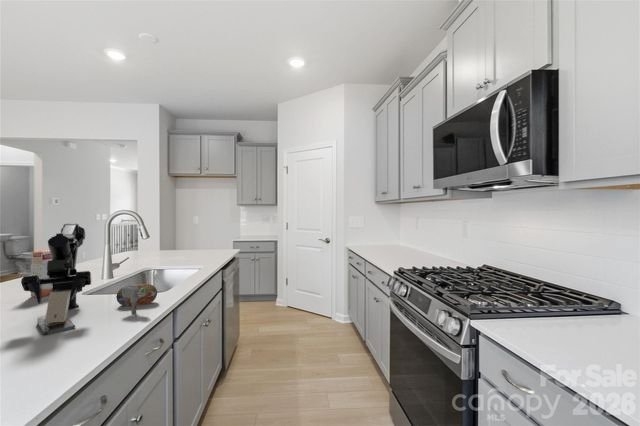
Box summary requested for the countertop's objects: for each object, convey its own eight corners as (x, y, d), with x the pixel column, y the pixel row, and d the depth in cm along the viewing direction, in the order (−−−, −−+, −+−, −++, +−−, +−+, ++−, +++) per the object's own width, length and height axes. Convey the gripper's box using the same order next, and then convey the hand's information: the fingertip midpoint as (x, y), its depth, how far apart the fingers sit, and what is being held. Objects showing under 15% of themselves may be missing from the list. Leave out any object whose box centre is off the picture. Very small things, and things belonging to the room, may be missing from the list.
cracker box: (43, 297, 141) (42, 251, 141) (30, 297, 141) (29, 251, 141) (68, 289, 155) (68, 248, 155) (56, 289, 155) (56, 247, 155)
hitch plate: (37, 324, 108) (37, 317, 108) (66, 318, 114) (66, 312, 114) (43, 335, 99) (43, 328, 99) (75, 328, 105) (75, 321, 105)
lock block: (48, 321, 108) (53, 291, 110) (66, 319, 110) (70, 291, 112) (44, 322, 104) (49, 292, 106) (63, 321, 106) (68, 291, 108)
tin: (116, 307, 128) (116, 287, 128) (118, 305, 131) (118, 285, 131) (156, 303, 134) (156, 284, 134) (157, 301, 137) (157, 282, 137)
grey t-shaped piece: (142, 314, 119) (142, 289, 119) (119, 312, 121) (119, 287, 121) (147, 312, 122) (147, 287, 122) (125, 310, 124) (125, 285, 124)
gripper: (22, 252, 105) (12, 292, 96) (90, 249, 115) (87, 285, 106) (28, 271, 112) (20, 310, 103) (92, 266, 122) (89, 302, 112)
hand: (55, 301), depth 106 cm, fingers open, 8 cm apart
